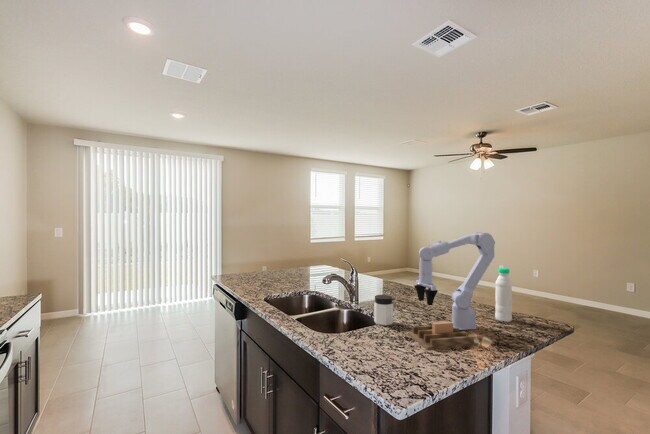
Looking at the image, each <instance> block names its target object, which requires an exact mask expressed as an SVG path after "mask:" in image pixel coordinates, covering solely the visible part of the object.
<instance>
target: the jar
mask: <svg viewBox="0 0 650 434" xmlns="http://www.w3.org/2000/svg"><path fill="white" fill-rule="evenodd" d="M373 303H374V304H373V305H374V306H373V307H374V308H373V321H374V323H375V324H376V325H379V326H389V325H390V326H391V325H393V324H394V304H393V296H391V295H389V294H377V295H374V302H373Z"/></svg>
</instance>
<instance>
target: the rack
mask: <svg viewBox="0 0 650 434" xmlns="http://www.w3.org/2000/svg"><path fill="white" fill-rule="evenodd" d="M407 336H408V337H410V338H411V339H413V340H414V341H415V342H416V343H418V344H420V346H422V347H423V348H424V349H426V350H435V349H436V350H437V349H449V348H451V349H452V348H462V347H472V346H480V345H479V342H478V341H476V340H475V336H473V335H467V332H466V331H460V330H459V328H453V332H452V333H438V334H432V324H429V325H418V326H417V325H414V326H412V329H411V332H407Z"/></svg>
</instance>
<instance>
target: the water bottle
mask: <svg viewBox="0 0 650 434" xmlns="http://www.w3.org/2000/svg"><path fill="white" fill-rule="evenodd" d="M497 273H498V277H497V279H496V280H495V282H494V284H495V293H494V294H495V296H494V298H495V308H494V309H495V312H494V313H495V314H494V318H495V320H496V321H499V322H503V321H504V323H510V322H512V320H513V313H512V312H513V308H512V307H513V306H512V303H513V289H512V287H513V283H512V281H511V278H510V277H509V275H510V269H509V268H506V267H498V269H497Z"/></svg>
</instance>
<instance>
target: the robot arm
mask: <svg viewBox="0 0 650 434" xmlns="http://www.w3.org/2000/svg"><path fill="white" fill-rule="evenodd" d="M466 245H473V246H474V245H475V246H476V247H477V250H478V253H479V256H478V257H477V259H476V261H475V263H474V264H473V266H472V268H471V270H470V271H469V273H468V274H467V276H466V277H465V279H464V281H463V282H462V284H461V285H460V286H458V288H456V290H454V291H452V293H451V296H450V298H451V300H452V301H453V303H452V305H451V322H452V323H453V328H459V331H463V330H464V331H465V330H477V329H478V328H477V327H476V326H477V325H476V323H477V322H476V317H477V316H476V311H475V309H474V308H473V307H472V306H471V303H472V302H471V301H472V298H473V295H474V291H475V289H476V287H477V285H478V284H479V282H480V281H481V280H482V277H483V276H484V274H485V272H486V271H487V270H488V268H489V266H490V264H491V263H492V261H493V260H494V258H495V246H496V241H495V239H494V236H493V235H492V234H491V233H489V232H482V231H479V232H475V233H473V232H472V233H470V234H466V235H464V236H461V237H459V238H455V239H453V240H451V241H448V242H446V241H445V240H438V241H437V242H436V243H433V244H427V246H422V247H421V248H420V249H419V251H418V256H419V265H418V266H419V267H418V271H419V272H418V274H419V275H418V278H419V279H416V280H415V285H414V286H413V287H414V289H415V291H416V293H417V298H418V301H419V302H423V301H424V300H425V297H426V305H427V306H433V304H434V301H435V297H436V295H437V293H438V292H439V291H438V289H437V286H436V285H435V284H434V283H433V258H436V257H440V256H442V255H446V254H448V253H450V250H452V249H454V248H458V247H461V246H466Z"/></svg>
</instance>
